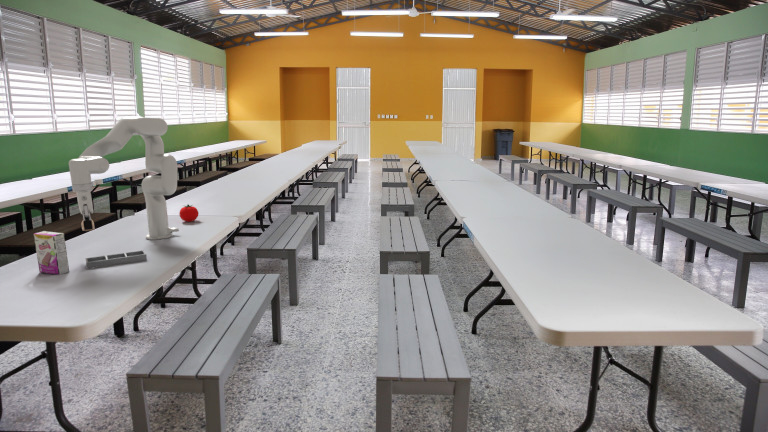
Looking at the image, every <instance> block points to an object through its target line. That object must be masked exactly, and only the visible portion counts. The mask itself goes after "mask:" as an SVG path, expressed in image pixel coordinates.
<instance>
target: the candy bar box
mask: <svg viewBox="0 0 768 432" xmlns="http://www.w3.org/2000/svg"><path fill="white" fill-rule="evenodd" d="M33 241H34V246H35V251H36V252H35V253H36V257H37V263H38V271H39V273H43V274H51V275H58V276H60V275H63V274H67V273H69V272H70V268H69V267H70V266H69V261H68V251H67V245H66V239H65V233H64V232H55V231H54V232H53V231H46V230H43V231H39V232H35V233H33Z"/></svg>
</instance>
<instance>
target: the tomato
mask: <svg viewBox="0 0 768 432" xmlns="http://www.w3.org/2000/svg"><path fill="white" fill-rule="evenodd" d="M182 206H183V207H181V208H180V210H179V214H178V215H179V217H180V219H181V220H182V221H184V222H186V223H189V222H190V223H191V221H192V222H194V221H196V219H198V217H199V210H198V209H197V207H195V206H194V205H193V204H191V205H190V204H186V205H182Z"/></svg>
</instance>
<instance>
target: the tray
mask: <svg viewBox="0 0 768 432" xmlns="http://www.w3.org/2000/svg"><path fill="white" fill-rule="evenodd" d="M147 260H148V259H147V253H146V251H145V250H144V249H143V250H135V251H127V252H120V253H113V254H107V255H99V256H91V257H86V258H85V264H86V269H87V270H88V269H94V268H103V267H108V266H115V265H123V264H128V263H135V262H143V261H147Z"/></svg>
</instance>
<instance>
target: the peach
mask: <svg viewBox="0 0 768 432" xmlns="http://www.w3.org/2000/svg"><path fill="white" fill-rule="evenodd" d="M91 220H92V226H93V229H91V230H84V223H83V221H84V220H83V219H82V221H81V229H82V231H83V232H88V231H94V230H95V229H96V228H95V223H94V220H93V219H92V218H91Z"/></svg>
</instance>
